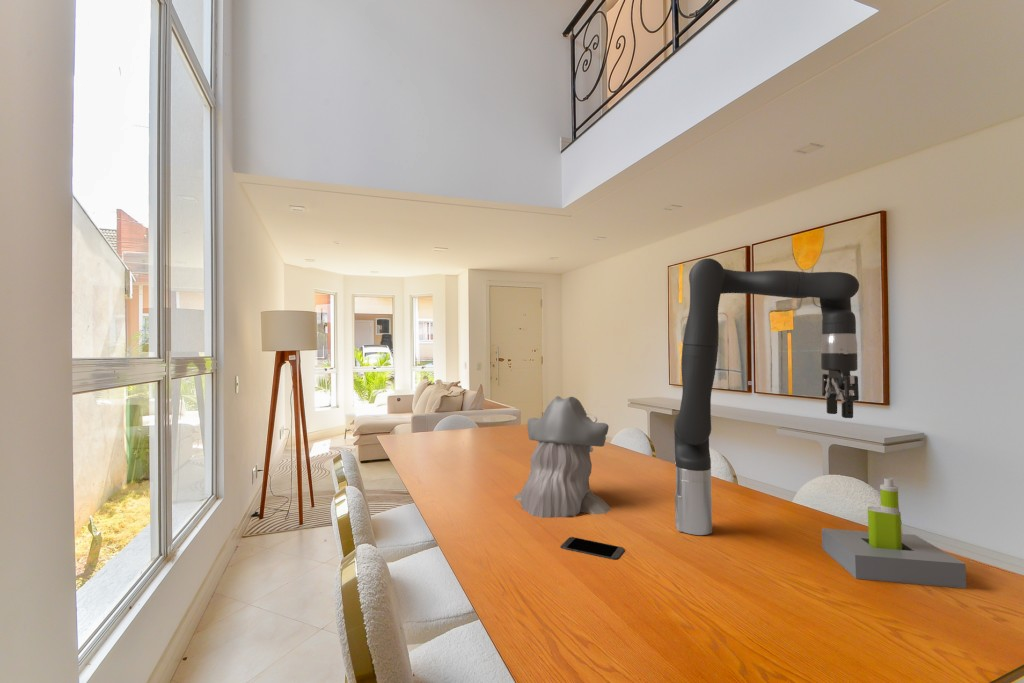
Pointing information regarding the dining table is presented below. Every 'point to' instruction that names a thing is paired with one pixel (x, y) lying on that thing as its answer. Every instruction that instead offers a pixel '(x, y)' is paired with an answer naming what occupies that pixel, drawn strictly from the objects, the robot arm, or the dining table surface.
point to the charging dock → (894, 560)
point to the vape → (886, 519)
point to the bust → (562, 462)
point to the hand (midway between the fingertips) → (839, 415)
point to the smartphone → (593, 548)
